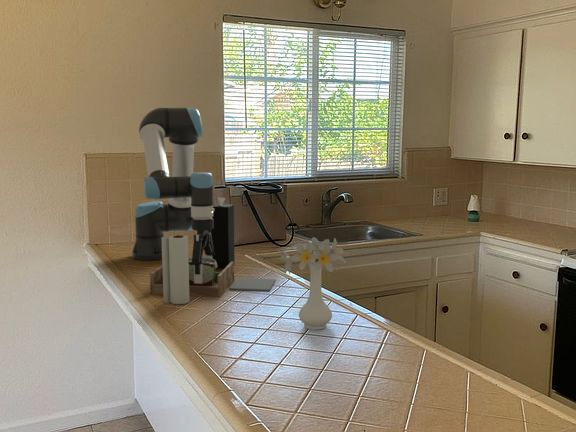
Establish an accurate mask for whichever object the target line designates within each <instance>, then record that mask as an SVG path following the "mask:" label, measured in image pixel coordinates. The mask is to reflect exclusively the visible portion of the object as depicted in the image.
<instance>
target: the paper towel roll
mask: <svg viewBox="0 0 576 432" xmlns="http://www.w3.org/2000/svg"><path fill="white" fill-rule="evenodd" d="M188 259H189V236H188V235H180V234H179V235H170V236H169V235H168V236H164V237H163V238H162V259H161V261H162V262H161V263H162V264H161V266H162V267H163V294H162V295H163V303H168V302H170V303H171V304H174V305H184V304H188V303H190V295H189V262H188Z"/></svg>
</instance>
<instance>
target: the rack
mask: <svg viewBox="0 0 576 432" xmlns="http://www.w3.org/2000/svg"><path fill="white" fill-rule="evenodd" d="M149 279H150V284H149V285H150V287H149V288H150V294H151V295H163V267H162V265H160V266H159V267H157V268H156V269H153V271H152V272H149ZM214 282H217V286H215V285H214V286H189V296H196V297H197V296H199V297H200V296H201V297H202V296H203V297H222V296H223V295H224V293H225V292H226V291H227V290H229V288H230V287H231V286H232V284H233V283H234V282H235V265H234V262H230V263H229V264H228V265H227V267H226V268H225V269H222V270H221V271H215V280H214Z"/></svg>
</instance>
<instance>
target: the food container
mask: <svg viewBox="0 0 576 432" xmlns="http://www.w3.org/2000/svg"><path fill="white" fill-rule="evenodd" d="M196 261H198V260H196ZM188 262H189V286H215V281H214V280H215V272H216V270H217V269H216V268H217V262H216V260H214V259H211V258H204V257H202V262H201V264H202V276H203V283H202V284H197V283H194V265H191V262H192V257H191V258H190V257H189V258H188Z"/></svg>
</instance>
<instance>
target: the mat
mask: <svg viewBox="0 0 576 432" xmlns="http://www.w3.org/2000/svg"><path fill="white" fill-rule="evenodd" d="M276 281H277V280H276V278H255V277H253V278H251V277H250V278H249V277H237V278H236V280H234V281H233V283H232V284H231V285H230V286H229V287H228V290H229V291H253V292H254V291H255V292H256V291H257V292H271V290H272V288H273V286H274V284H275V283H276Z"/></svg>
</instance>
